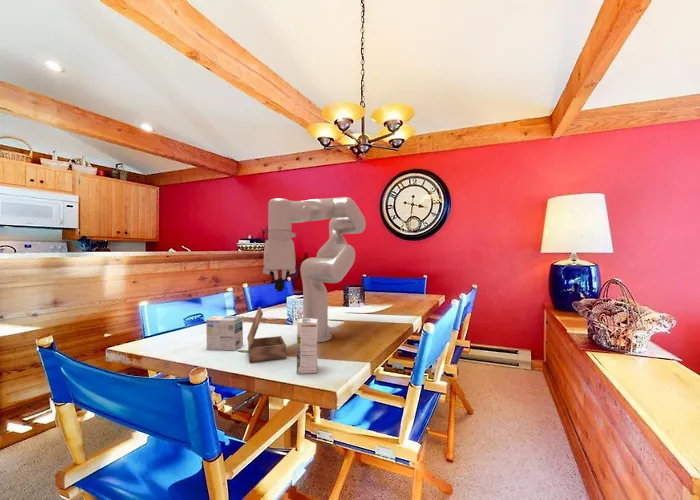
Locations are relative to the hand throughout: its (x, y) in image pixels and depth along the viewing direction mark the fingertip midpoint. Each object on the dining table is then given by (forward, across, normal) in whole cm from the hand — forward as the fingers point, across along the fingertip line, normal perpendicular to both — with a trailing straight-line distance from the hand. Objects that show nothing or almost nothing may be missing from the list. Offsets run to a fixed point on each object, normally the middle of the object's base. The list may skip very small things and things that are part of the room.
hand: (279, 291), depth 107 cm
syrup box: (+21, -6, +16) cm, 28 cm away
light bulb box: (+21, +17, -14) cm, 31 cm away
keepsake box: (+21, +4, 0) cm, 21 cm away
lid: (+11, +7, 0) cm, 14 cm away
